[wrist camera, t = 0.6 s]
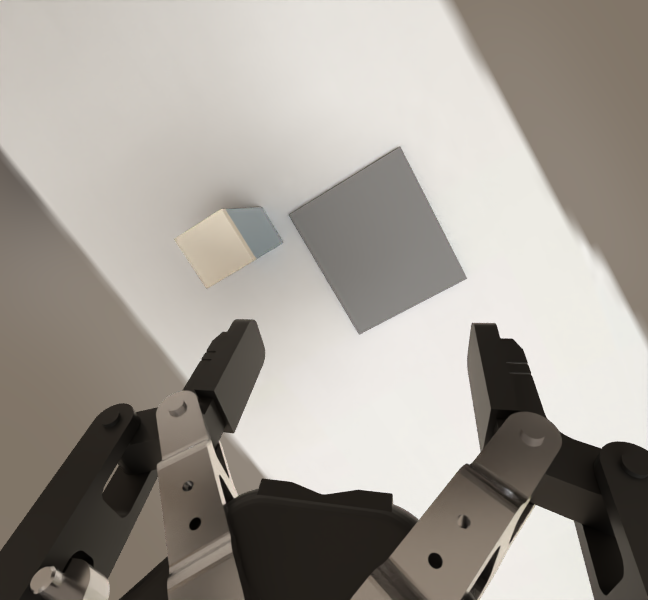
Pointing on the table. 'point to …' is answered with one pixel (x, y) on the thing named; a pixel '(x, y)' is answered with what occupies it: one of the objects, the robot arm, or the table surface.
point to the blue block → (227, 242)
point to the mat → (378, 242)
